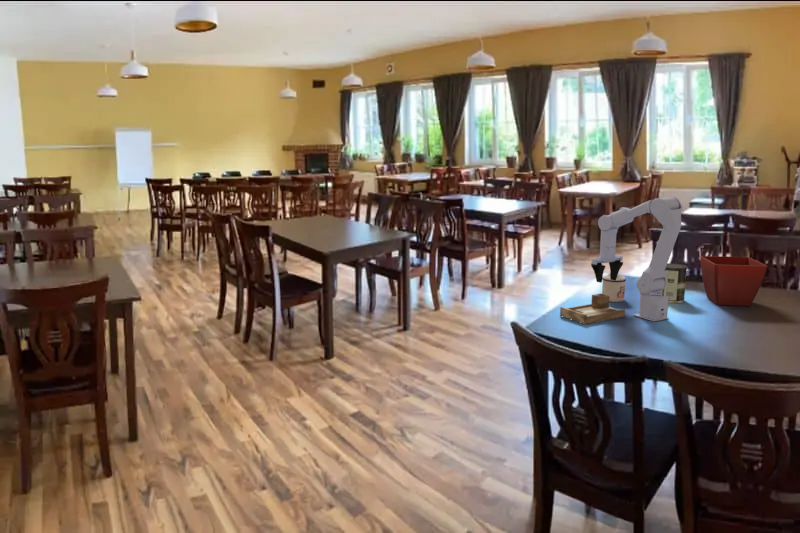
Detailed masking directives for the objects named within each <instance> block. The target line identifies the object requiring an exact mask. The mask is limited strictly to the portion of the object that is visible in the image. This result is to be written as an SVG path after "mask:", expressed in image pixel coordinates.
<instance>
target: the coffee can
mask: <svg viewBox="0 0 800 533" xmlns="http://www.w3.org/2000/svg"><path fill="white" fill-rule="evenodd" d="M687 269H688V266H687V265H685V264H680V263H671V262H670V263H667V265H666V268H665V272H666V273H667V278H666V287H665V288H664V289H663V290H662V296H664V297H666V298H667V299H668V304H680V303H681V304H682V303H684V302H685V296H686V295H685V294H686V282H687V271H688V270H687Z"/></svg>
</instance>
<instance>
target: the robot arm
mask: <svg viewBox="0 0 800 533" xmlns="http://www.w3.org/2000/svg"><path fill="white" fill-rule="evenodd" d="M682 211H683V205H682V203H681V201H680V199H678V197H676V196H670V197H661V198H660V197H657V198H654V199H649V200H647V201H644V202H643V203H641V204H638V205H636V206H634V207H632V208H629V207H625V206H622V207H620V208H619V209H618V210H616V211H610V212H609V214H608V215H607V214H602V216H600V217H599V218H598V221H597V224H598V228H599V229H600V241H599V242H600V244H599V246H600V247H599V256H598V257H594V258H592V259H591V264H590V265H591V268H592V270H593V273H594V275H595V280H596V282H597V283H599V284H601V283H603V276H604V272H605V268H606V265H604V264H607V263H608V264H609V270H610V271H609V272H610V273H609V274H610V278H611V280H616V278H617V275H618V274H619V272H620V269H621V268H622V267H623V265H624V262H623V255H616V247H617V233H618V230H619V228H620V227H623V226H624V225H627V224H630V223H632V222H633V221H634V219H635V218H636V217H639V216H641V215H645V214H647V213H648V214H652V215H653V216H654V218H656V220H657V221H658V222H659V223H660V224H661V225H662V230H661V232H660V236H659V237H658V238H659V239H658V241H657V244H656V246H655V249H654V251H653V255H652V257H651V260H650V263H649V264H648V267H647V268H646V269H645V270H643V272H642V274H641V276H640V277H639V278H638V279H637V282H636V288H637V290H638V291H639V306H638V307H639V310H638V313H633V316H634V317H638V318H641V319H645V320H648V321H650V322H658V321H663V320H668V319H669V316H668V310H669V303H668V299H667V298H666V297H664V296H662V290H663V289H664V288H665V287H666V278H667V273H666V272H665V268H666V265H667V263H668V262H669V260H670V257H671V255H672V251H673V249H674V246H675V244H676V241H677V238H678V235H679V233H680V230H681V228H682Z"/></svg>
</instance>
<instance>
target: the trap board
mask: <svg viewBox="0 0 800 533" xmlns="http://www.w3.org/2000/svg"><path fill="white" fill-rule="evenodd" d="M591 304H592V303H590V304H589V303H588V304H584V305H583V304H582V305H577V306H572V307H564V306H561V307H560V308H559V310H560V312H559V317H560V316H563V317H566V318H569V319H572V320H575V321H578V322H581V323H584V324H585V325H587V324H586V323H590V324H594V323H593V322H596V323H600V322H599V321H601V322H605V321H604V320H606V321H610V319H611V320H615V318H616V319H621V318H625V316H626V315H625V314H626V309H625V308H623V309H618V308H614V307H610V306H609V308H604V309H598V308H595V307H591ZM563 317H562V318H563ZM620 317H621V318H620ZM566 318H565V319H566ZM569 319H568V320H569ZM572 320H571V321H572ZM575 321H574V322H575ZM578 322H577V323H578ZM581 323H580V324H581ZM584 324H583V325H584Z"/></svg>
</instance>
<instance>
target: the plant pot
mask: <svg viewBox="0 0 800 533" xmlns="http://www.w3.org/2000/svg"><path fill="white" fill-rule="evenodd" d="M699 258H700V270H701V276H702V282H703V288H704V291H705V295H706V298H707V299H708V300H710V301H712V302H713V303H714V304H716V305H717V306H718V305H719V306H740V307H741V306H742V307H745V306H746V307H750V306H752V303H753V302H754V301H755V298H756V296H757V295H758V292H759V291H760V288H761V285H762V283H763V280H764V278H765V276H766V272H767V268H768V265H767V264H765V263H763V262H760V261H758V260H756V259H754V258H751V257H748V256H722V255H720V256H719V255H718V256H716V255H715V256H713V255H700V256H699Z"/></svg>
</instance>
